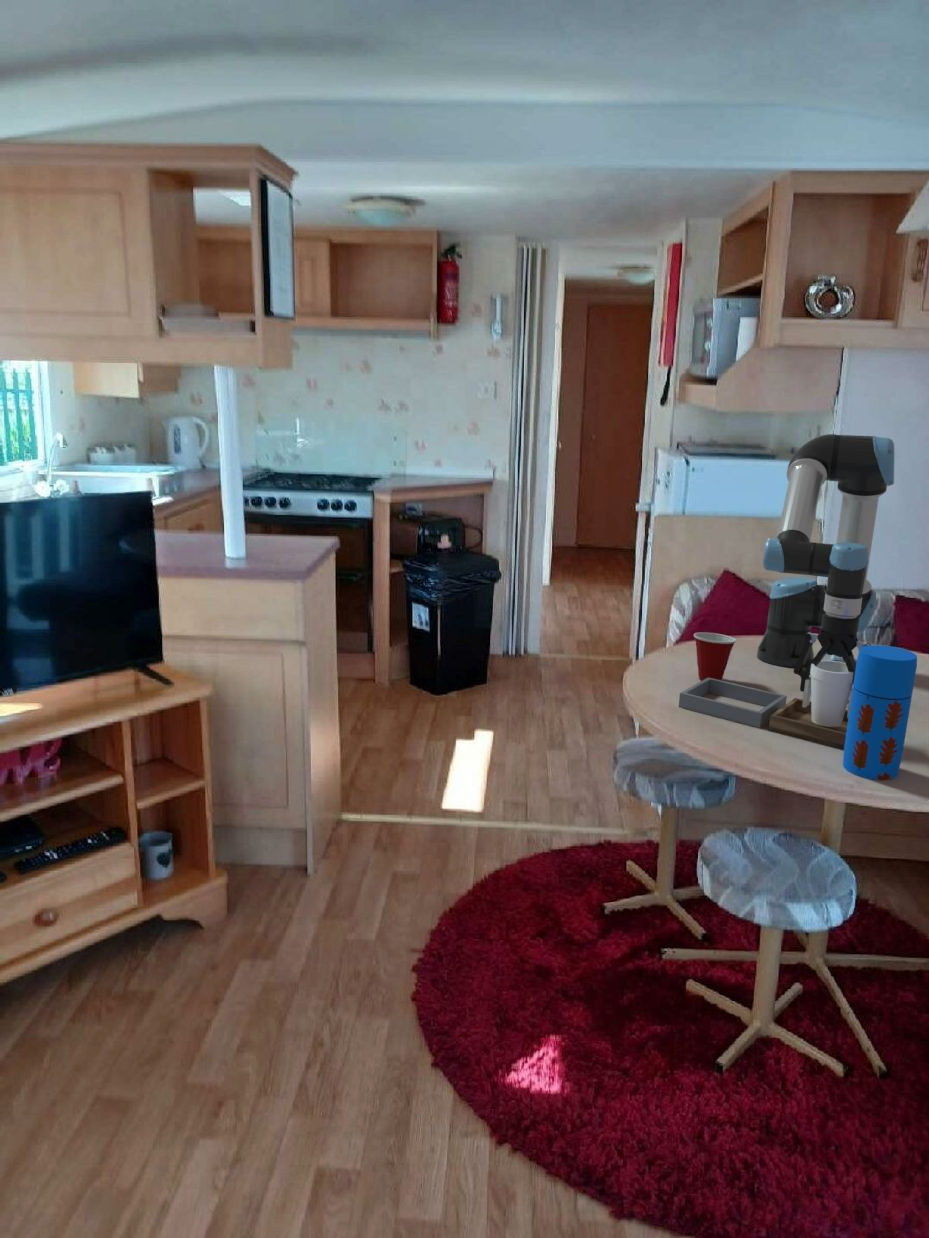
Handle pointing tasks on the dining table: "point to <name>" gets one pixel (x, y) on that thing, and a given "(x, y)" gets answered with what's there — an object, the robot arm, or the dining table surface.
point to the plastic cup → (712, 654)
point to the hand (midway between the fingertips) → (827, 710)
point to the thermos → (879, 711)
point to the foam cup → (829, 692)
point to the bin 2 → (807, 725)
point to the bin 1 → (728, 711)
